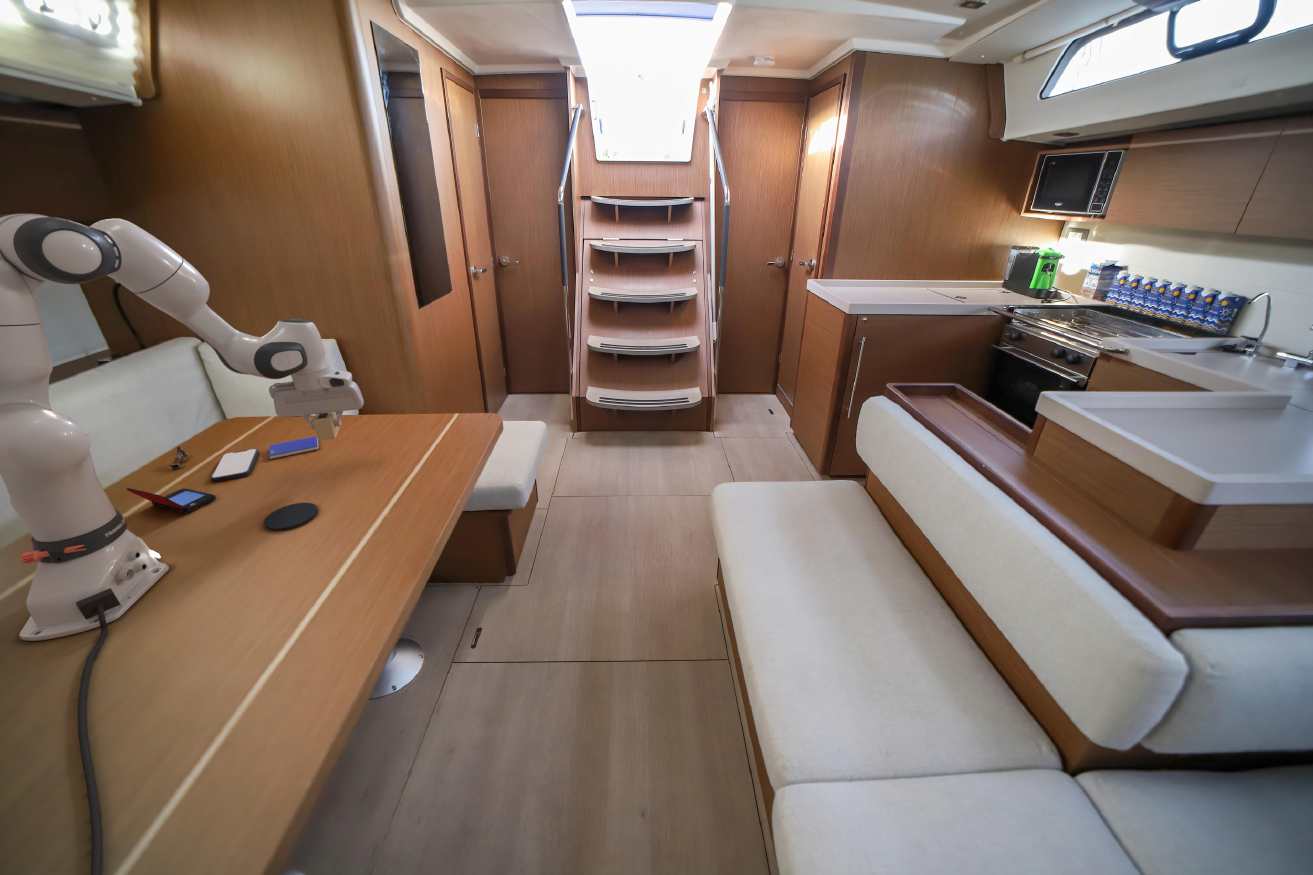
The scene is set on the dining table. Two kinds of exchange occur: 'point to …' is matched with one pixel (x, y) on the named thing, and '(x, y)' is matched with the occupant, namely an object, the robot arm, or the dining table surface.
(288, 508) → the mat
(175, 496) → the handheld console
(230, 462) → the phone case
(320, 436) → the beige block
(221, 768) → the dining table surface
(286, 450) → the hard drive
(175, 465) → the grey jointed piece
